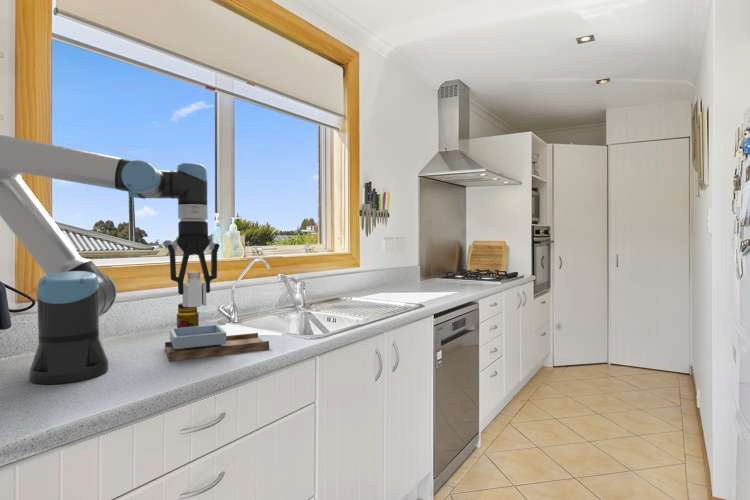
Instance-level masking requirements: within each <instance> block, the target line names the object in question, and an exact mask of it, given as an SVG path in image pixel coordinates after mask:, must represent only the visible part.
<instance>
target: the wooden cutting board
mask: <svg viewBox="0 0 750 500" xmlns="http://www.w3.org/2000/svg"><path fill="white" fill-rule="evenodd" d="M185 349H186V350H182V351H178V349H174V348H173V345H172V343H171V341H164V351H165V353H166V357H167V359H168V362H173V361H174V362H175V361H183V360H184V361H185V360H191V359H192V360H193V359H199V358H207V357H215V356H225V355H226V356H227V355H231V354H232V355H233V354H241V353H250V352H257V351H258V352H259V351H265V350H267V351H268V350H270V340H266V341H265V340H263V339H261V338H260V337H259V332H254V333H253V332H252V333H244V334H243V333H242V334H233V335H226V344H221V346H218V347H214V345H208V346H199V347H190V348H185Z"/></svg>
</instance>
